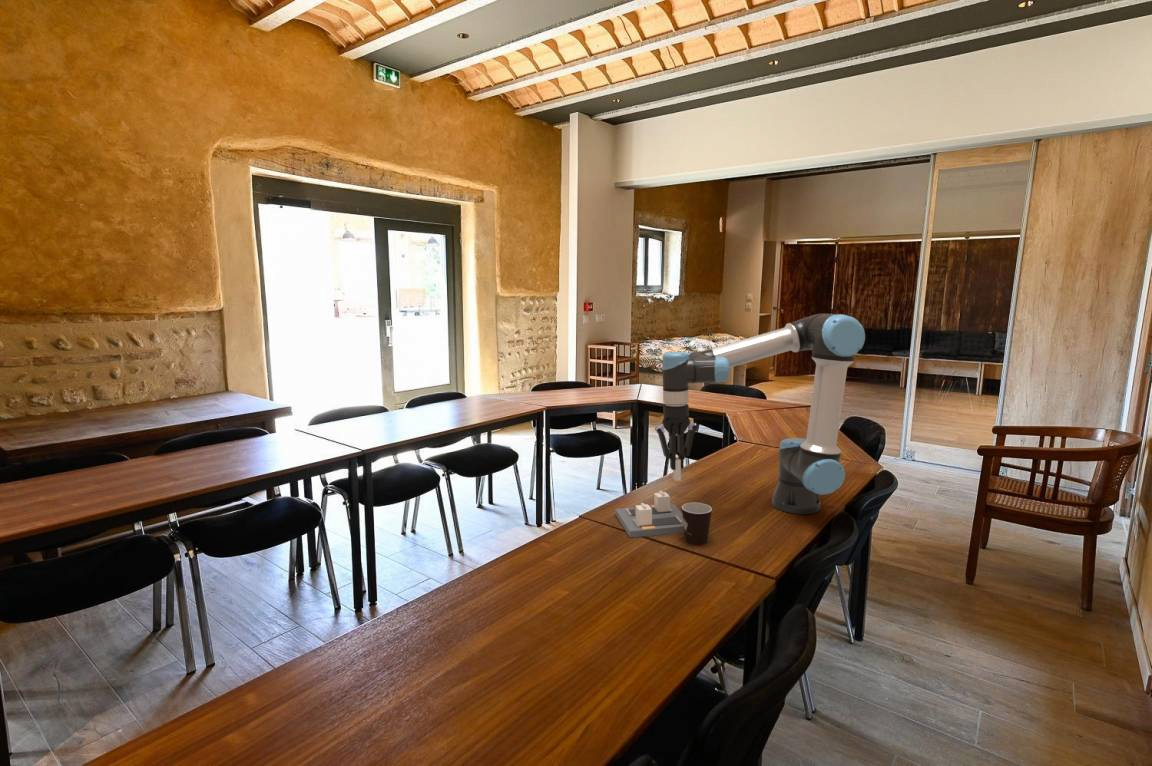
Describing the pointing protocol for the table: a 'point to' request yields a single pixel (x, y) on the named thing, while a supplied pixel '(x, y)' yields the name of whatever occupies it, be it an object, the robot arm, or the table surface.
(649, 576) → the table surface
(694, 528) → the coffee mug
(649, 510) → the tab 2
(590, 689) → the table surface
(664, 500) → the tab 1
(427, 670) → the table surface
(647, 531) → the switch board
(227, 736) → the table surface
